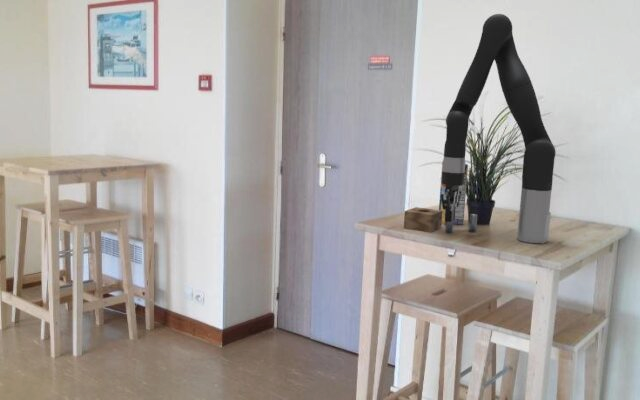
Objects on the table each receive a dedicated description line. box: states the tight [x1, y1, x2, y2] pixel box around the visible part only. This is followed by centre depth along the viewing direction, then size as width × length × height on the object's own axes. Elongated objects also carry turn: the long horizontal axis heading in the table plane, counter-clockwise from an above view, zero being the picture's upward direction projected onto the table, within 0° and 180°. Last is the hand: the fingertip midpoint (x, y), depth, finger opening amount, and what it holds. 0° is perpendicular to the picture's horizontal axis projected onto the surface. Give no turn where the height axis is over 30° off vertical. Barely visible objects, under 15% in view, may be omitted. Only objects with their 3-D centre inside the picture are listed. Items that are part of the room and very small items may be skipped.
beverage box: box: [438, 160, 469, 226], centre depth 228 cm, size 7×11×22 cm, turn 1°
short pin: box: [468, 213, 478, 233], centre depth 214 cm, size 2×2×6 cm
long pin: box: [444, 201, 454, 234], centre depth 211 cm, size 2×2×11 cm
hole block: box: [403, 206, 443, 233], centre depth 217 cm, size 10×10×6 cm
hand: (449, 220), depth 211 cm, fingers closed on long pin, 2 cm apart
